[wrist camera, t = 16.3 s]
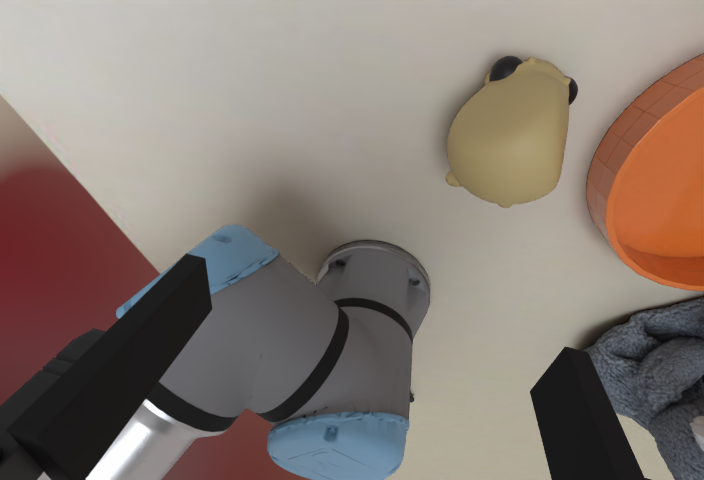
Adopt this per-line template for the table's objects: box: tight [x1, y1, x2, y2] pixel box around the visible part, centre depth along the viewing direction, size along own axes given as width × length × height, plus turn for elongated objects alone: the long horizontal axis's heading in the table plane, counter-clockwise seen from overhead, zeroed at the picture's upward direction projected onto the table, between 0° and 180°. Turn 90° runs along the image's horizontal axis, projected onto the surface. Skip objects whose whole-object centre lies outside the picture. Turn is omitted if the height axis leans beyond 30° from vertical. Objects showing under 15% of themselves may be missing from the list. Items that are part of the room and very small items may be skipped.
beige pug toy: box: [446, 56, 578, 208], centre depth 29 cm, size 10×12×11 cm
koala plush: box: [582, 297, 704, 480], centre depth 36 cm, size 17×18×20 cm
